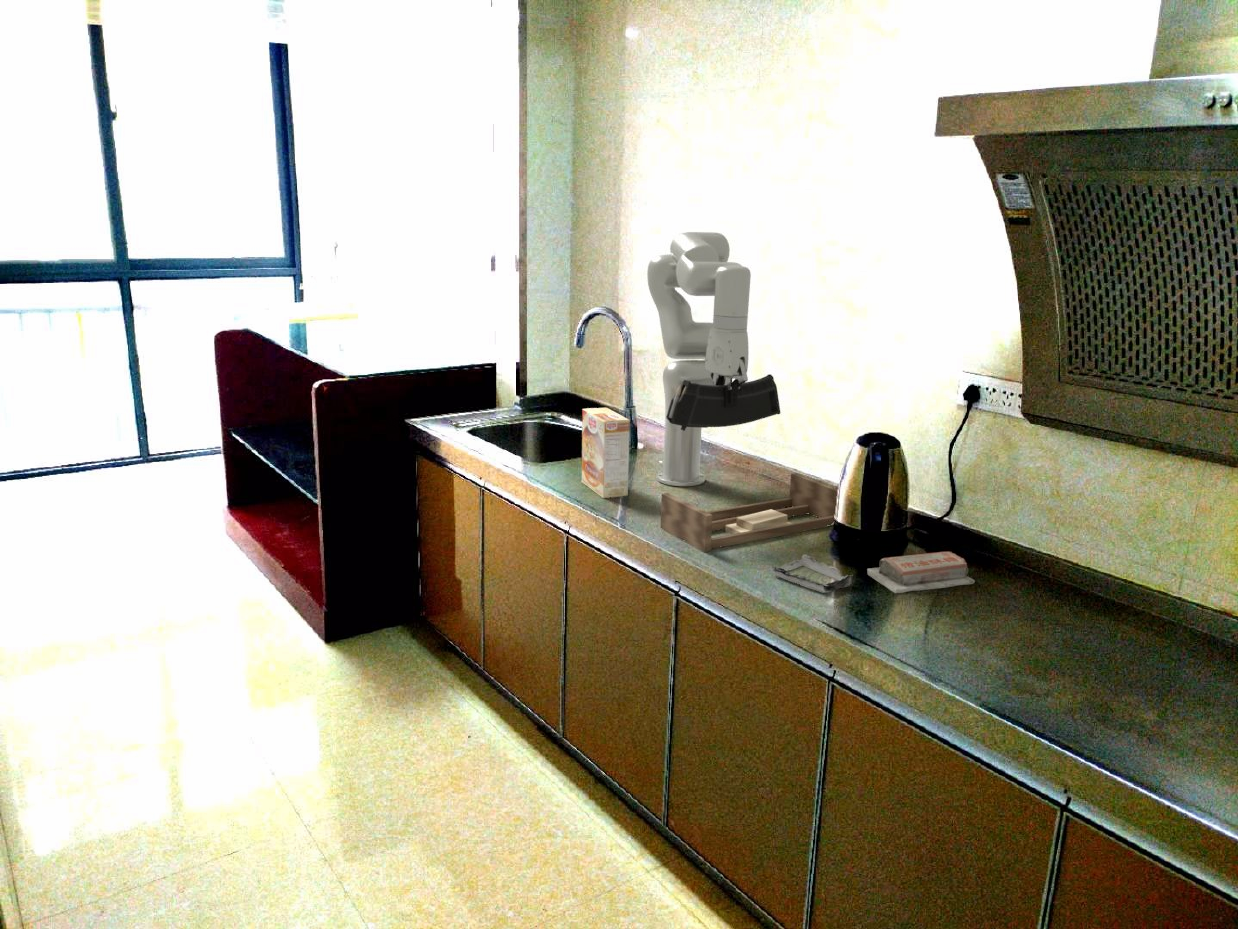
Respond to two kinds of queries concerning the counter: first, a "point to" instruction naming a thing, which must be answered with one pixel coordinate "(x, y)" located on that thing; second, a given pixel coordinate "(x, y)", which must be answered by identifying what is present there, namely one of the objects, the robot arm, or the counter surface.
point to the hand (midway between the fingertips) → (724, 404)
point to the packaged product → (921, 572)
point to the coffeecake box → (605, 452)
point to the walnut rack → (699, 523)
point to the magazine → (707, 404)
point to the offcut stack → (757, 521)
